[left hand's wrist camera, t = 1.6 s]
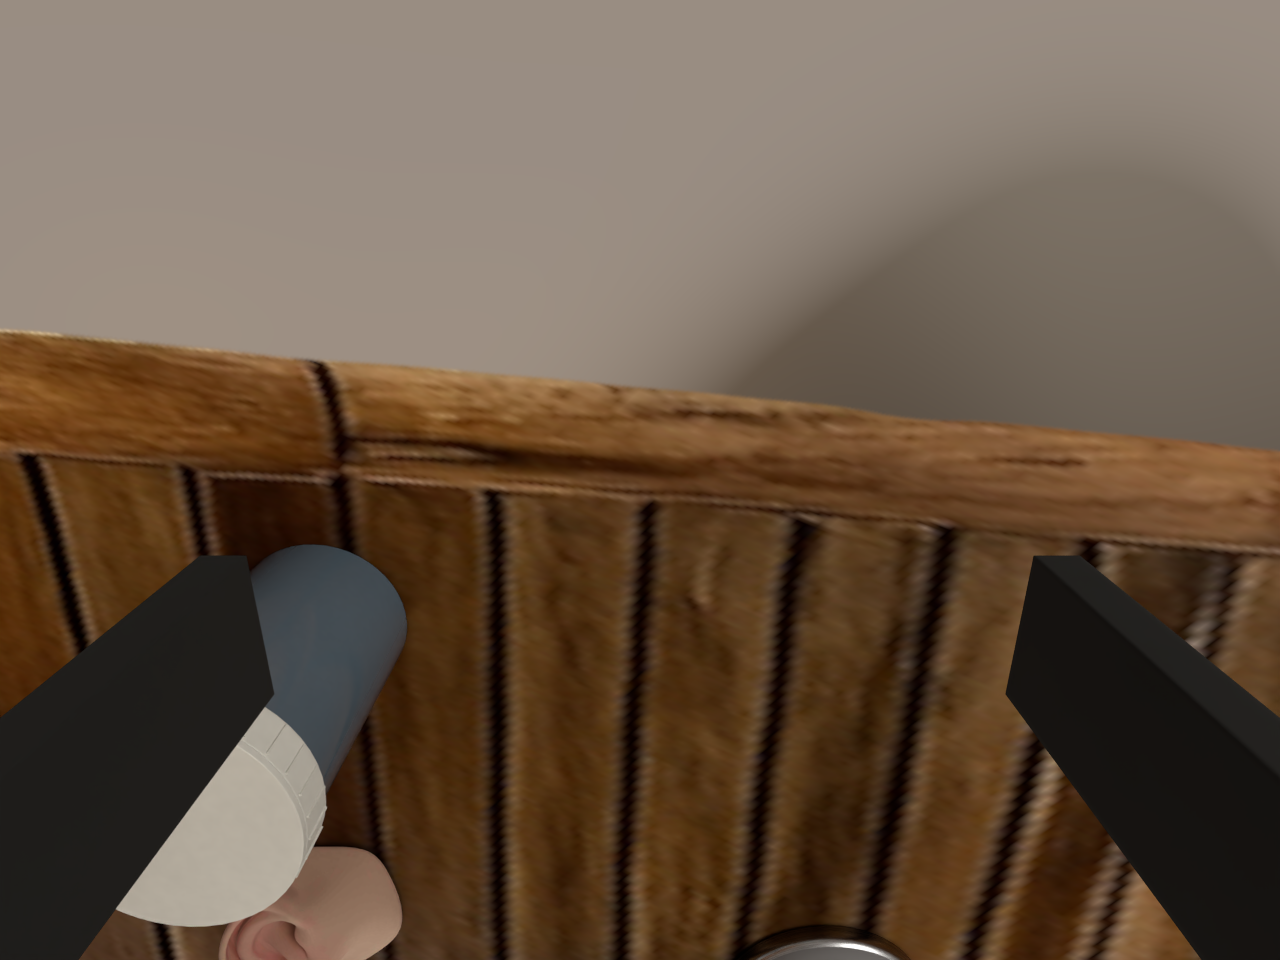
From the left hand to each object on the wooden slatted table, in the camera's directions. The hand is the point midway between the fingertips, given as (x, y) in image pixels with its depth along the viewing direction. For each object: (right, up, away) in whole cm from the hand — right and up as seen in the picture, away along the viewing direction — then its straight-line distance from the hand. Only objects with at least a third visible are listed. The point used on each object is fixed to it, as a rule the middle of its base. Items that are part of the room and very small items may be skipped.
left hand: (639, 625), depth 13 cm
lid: (-19, -11, +18) cm, 28 cm away
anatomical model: (-23, -28, +40) cm, 54 cm away
